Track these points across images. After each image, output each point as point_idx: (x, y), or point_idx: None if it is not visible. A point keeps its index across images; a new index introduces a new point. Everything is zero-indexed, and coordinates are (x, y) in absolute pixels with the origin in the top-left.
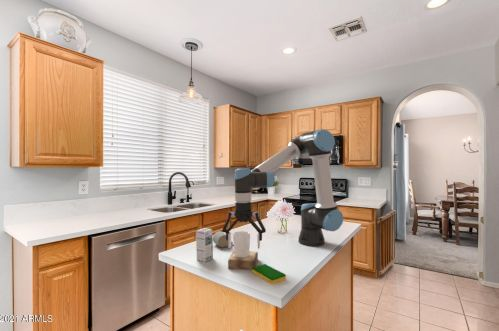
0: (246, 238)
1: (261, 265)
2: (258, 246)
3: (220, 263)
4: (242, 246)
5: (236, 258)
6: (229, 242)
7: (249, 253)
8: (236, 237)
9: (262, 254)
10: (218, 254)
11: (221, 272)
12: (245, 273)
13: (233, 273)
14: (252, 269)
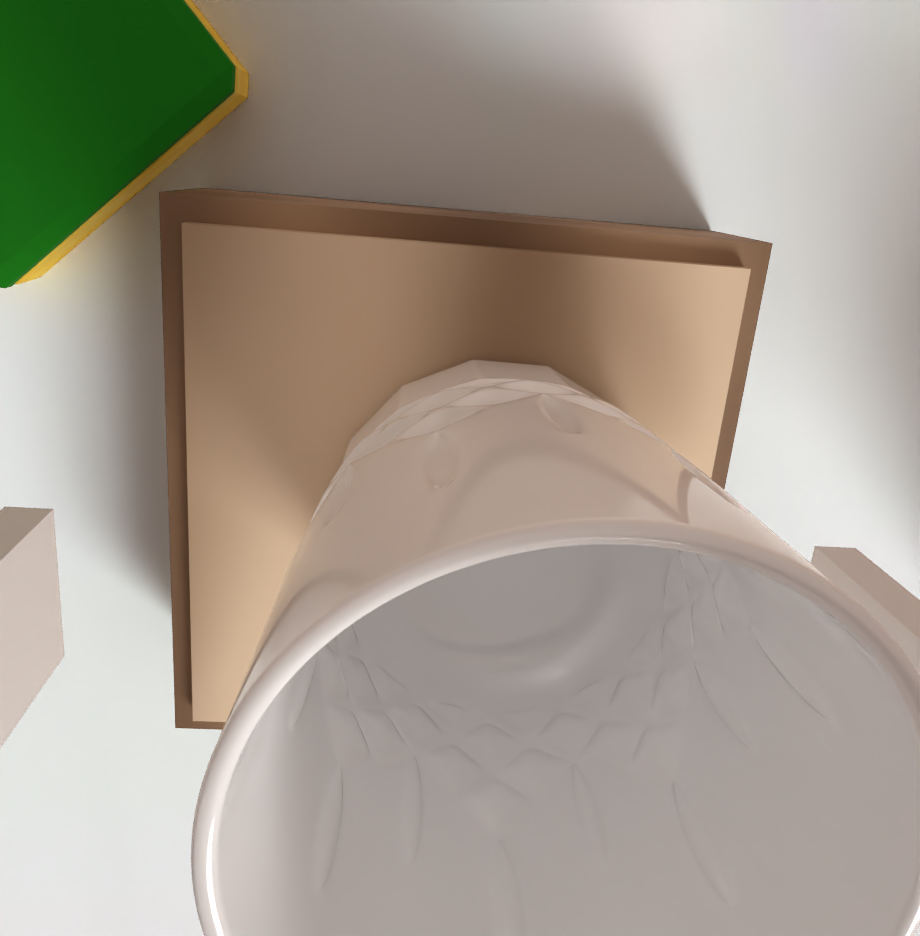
0: (338, 556)
1: (43, 190)
2: (2, 530)
3: (853, 458)
4: (482, 413)
5: (596, 316)
6: (907, 618)
7: None
8: (781, 546)
9: (155, 860)
10: None
11: (830, 49)
12: (372, 10)
13: (603, 4)
14: (228, 57)
